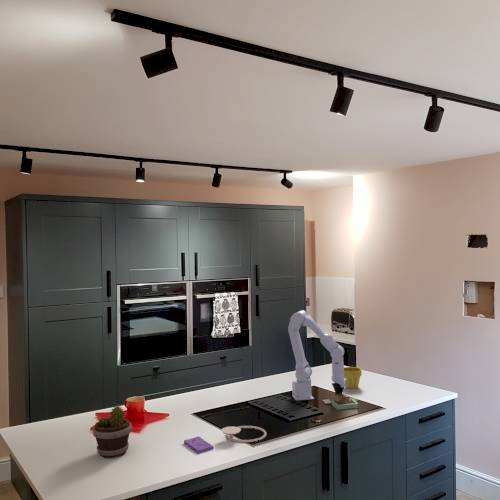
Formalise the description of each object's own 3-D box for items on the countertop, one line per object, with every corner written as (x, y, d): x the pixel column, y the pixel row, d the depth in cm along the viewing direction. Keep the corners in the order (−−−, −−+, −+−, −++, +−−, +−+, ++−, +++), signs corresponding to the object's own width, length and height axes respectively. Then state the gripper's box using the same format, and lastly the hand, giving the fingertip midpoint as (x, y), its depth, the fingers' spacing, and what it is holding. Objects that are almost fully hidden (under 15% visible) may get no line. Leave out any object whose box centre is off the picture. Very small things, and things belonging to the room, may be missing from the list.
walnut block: (337, 405, 247) (337, 397, 247) (333, 402, 253) (333, 394, 253) (349, 404, 248) (349, 396, 248) (345, 401, 254) (345, 393, 254)
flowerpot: (85, 454, 198) (83, 402, 198) (121, 442, 209) (119, 393, 209) (104, 465, 188) (102, 410, 187) (140, 452, 198) (138, 400, 198)
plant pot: (363, 389, 273) (363, 371, 273) (344, 390, 273) (343, 371, 273) (359, 384, 283) (359, 366, 283) (340, 384, 284) (340, 366, 284)
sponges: (199, 440, 210) (198, 436, 210) (214, 450, 199) (214, 445, 199) (183, 444, 206) (183, 440, 206) (198, 454, 195) (198, 450, 195)
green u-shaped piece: (331, 410, 241) (331, 405, 241) (322, 401, 255) (321, 397, 255) (364, 407, 244) (363, 403, 244) (353, 398, 258) (352, 394, 258)
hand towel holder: (275, 425, 212) (236, 438, 199) (275, 435, 212) (236, 449, 199) (248, 415, 225) (210, 427, 212) (248, 425, 225) (210, 437, 212)
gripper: (351, 373, 248) (351, 401, 248) (340, 366, 263) (341, 393, 263) (337, 374, 247) (337, 402, 247) (327, 367, 261) (328, 394, 262)
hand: (338, 398), depth 255 cm, fingers closed
